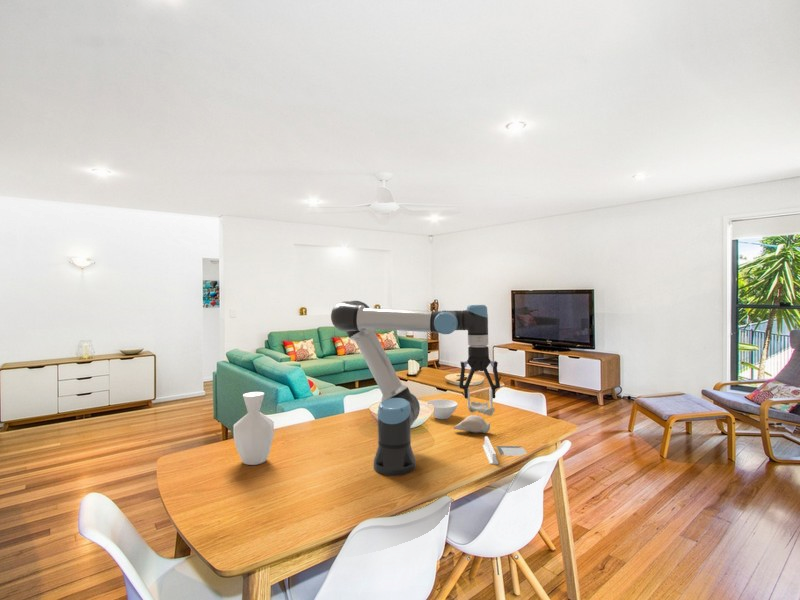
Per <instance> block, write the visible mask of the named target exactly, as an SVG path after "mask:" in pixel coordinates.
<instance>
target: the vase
mask: <svg viewBox="0 0 800 600" xmlns="http://www.w3.org/2000/svg"><path fill="white" fill-rule="evenodd" d="M264 396H265V392H262V391H250V392H246V393H243V394H242V398H243V400H244V404H245V408H246V411H247V413H246V414H245V415H244V416H242V417H241V418H240V419H238V421H237V422H235V423H234V424H233V426H232V428H233V441H234V445H235V447H236V452H237V453H238V455H239V457H240V460H241V461H242V463H243V464H244V465H251V466H256V465H261V464H263V463H265V462H266V460H267V459H268V458H269V456H270V453H271V447H272V443H273V439H274V435H275V434H274V432H275V429H274V428H275V427H274V426H275V421H274V420H273V419H272V418H271V417H269V416H267V415H265V414H264V413H262V412H261V408H262V405H263V404H262V403H263V401H264Z"/></svg>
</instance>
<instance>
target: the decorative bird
mask: <svg viewBox="0 0 800 600" xmlns="http://www.w3.org/2000/svg"><path fill="white" fill-rule="evenodd" d="M453 429H454V430H459V431H466V432H470V433H474V434H478V433H483V434H487V433H488V432H490V429H491V422H488V423H487V422H486V420H485V419H484V418H483V417H481V416H479V415H476V414H471V415H468V416H467V417H465V419H462V421H461V422H459V423H458V424H456V425H455V426H453Z"/></svg>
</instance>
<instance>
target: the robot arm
mask: <svg viewBox="0 0 800 600" xmlns="http://www.w3.org/2000/svg"><path fill="white" fill-rule="evenodd" d="M330 320H331V323H332V325H333V326H334V327H335V329H337V330H338V331H341V332H346V334H347V336H348V338H349V339H350V340H352V341H355V344H356V346H357V347H358V349H359V351H360V353H361V355H362V357H363V359H364V361H365V363H366V365H367V367H368V369H369V371H370V373H371V374H372V377H373V379H374V381H375V382H376V385H377V386H378V389H379V390H380V392H381V394H382V397H381V400H380V401H381V402H380V403H379V404H378V409H377V421H378V422H377V428H378V429H377V430H378V431H377V432H378V434H377V435H378V436H377V437H378V438H377V440H378V441H377V443H378V445H377V449H376V453H375V454H374V458H373V469H374V471H375V472H376V473H378V474H381V475H384V476H389V477H390V476H391V477H397V476H398V477H400V476H404V475H408V474H410V473H412V472H414V471H415V470H416V463H417V462H416V457H415V455H414V451H413V449H412V446H411V445H412V444H411V443H412V441H411V437H412V436H411V433H412V432H411V427H412V425H413V424H414V423H415V422H416V420H417V419H418V417H419V414H420V411H421V410H420V409H421V407H420V401H419V399H418V398H417V396H416V395H414V394H413V393H411V391H410V389H409V387H408V386H407V385H404V384H402V382H401V380H400V378H399V376H398V374H397V372H396V370H395V369H394V367H393V364H392V362H391V361H390V358H389V357H388V355H387V352H386V351H385V350H384V347H383V345H382V343H381V341H380V339H379V338H378V336H377V334H376V331H375V330H381V331H382V330H386V331H387V330H388V331H400V332H401V331H402V332H403V331H406V332H417V333H418V332H421V333H435V334H441V335H451V334H453V332H455V331H467V345H468V347H467V349H468V351H467V353H468V355H467V356H468V357H467V360H464V361H462V360H461V361H460V362H459V363H460V368H461V369H460V374H459V375H460V376H459V383H458V387H459V389H461V390H463V393H464V394H463V395H464V396H463V397H464V399H466V401H467V408H470V406H471V392H470V391H471V390H470V388H469V387H470V384H471V381H472V379H473V377H474V375H475V372H484V375H485V377H486V379H487V381H488V384H489V386H490V388H488V389H489V391H488V392H489V395H488V396H489V408H494V402H493V399H496V390H497V389H500V388H501V384H500V378H499V373H498V365H499V364H498V363H499V362H497V360H491V359H490V354H489V353H490V350H489V346H488V345H489V316H488V307H487V306H486V304H469V305H467V306H466V309H465V310H464V309H463V310H438V311H436V310H435V311H433V310H417V309H416V310H414V309H395V308H392V309H391V308H375V307H374V308H373V307H372V308H371V307H370V306H369V305H368V304H367V303H366V302H362V301H361V300H351V301H349V300H347V301H345V300H344V301H341V302H339V303H337V304H336V305H335V306H334V307H333V308H332V309H331V314H330ZM489 365H491V368H492V371H493V377H494V382H495V384H494V383H493V380H492V378H491V374H490V373H489V370H488V366H489ZM467 366H469V367H470V369H469V373H468V376H467V378H466V380H465V383H464V379H465V372H466V367H467Z"/></svg>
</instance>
